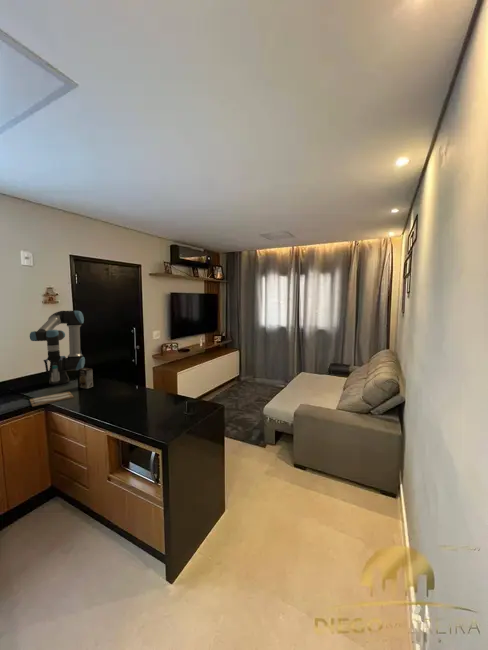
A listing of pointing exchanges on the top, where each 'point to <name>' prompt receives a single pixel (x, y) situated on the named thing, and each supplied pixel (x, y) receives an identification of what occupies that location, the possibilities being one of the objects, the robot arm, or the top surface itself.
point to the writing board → (51, 398)
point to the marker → (55, 373)
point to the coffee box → (86, 378)
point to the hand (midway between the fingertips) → (55, 380)
